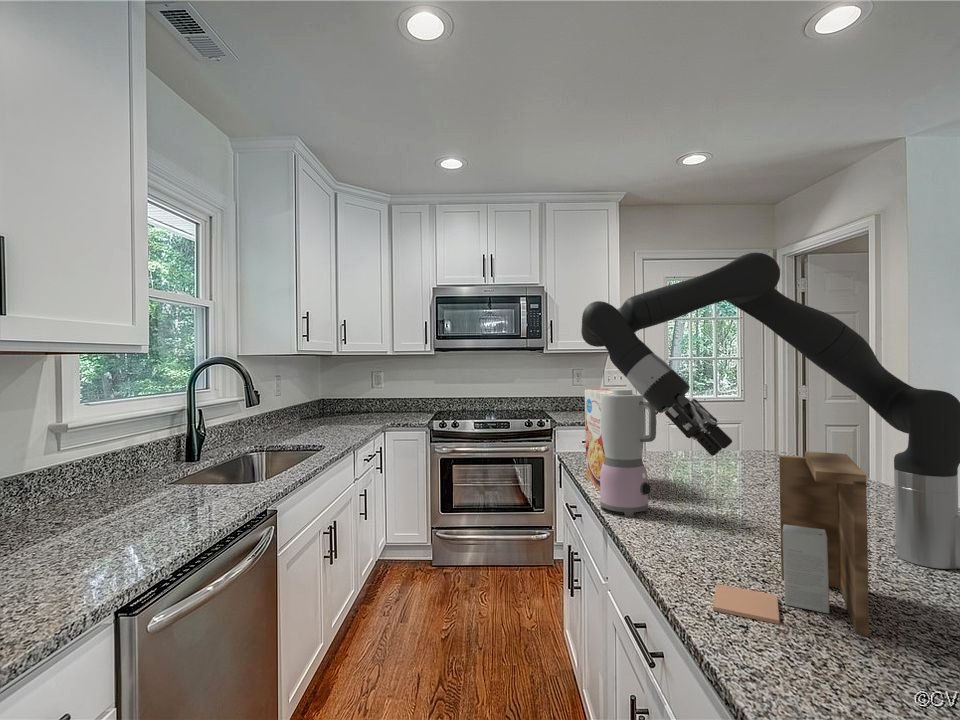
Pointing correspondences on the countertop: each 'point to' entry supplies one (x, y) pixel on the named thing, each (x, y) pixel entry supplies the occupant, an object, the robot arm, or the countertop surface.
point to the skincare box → (806, 568)
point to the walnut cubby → (831, 520)
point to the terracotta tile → (746, 603)
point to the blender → (625, 451)
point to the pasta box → (594, 435)
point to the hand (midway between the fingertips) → (723, 448)
